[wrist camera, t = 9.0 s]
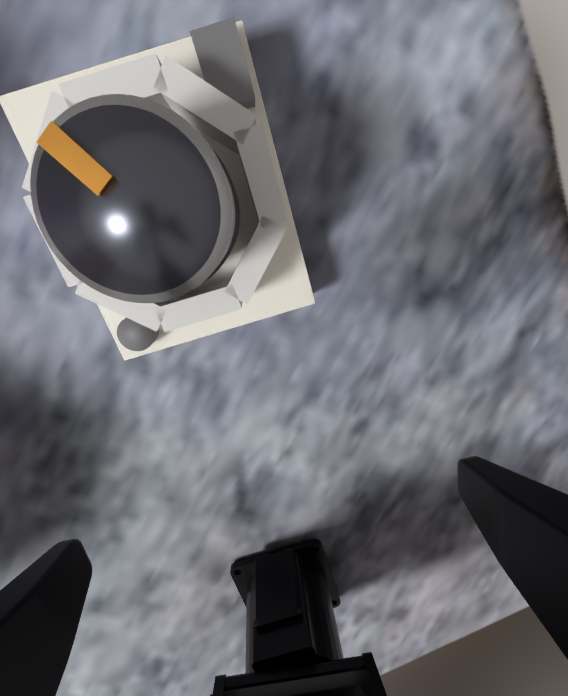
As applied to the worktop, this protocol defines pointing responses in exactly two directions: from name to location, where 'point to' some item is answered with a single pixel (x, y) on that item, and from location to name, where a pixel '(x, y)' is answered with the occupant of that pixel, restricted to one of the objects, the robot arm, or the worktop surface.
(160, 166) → the lens
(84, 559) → the robot arm
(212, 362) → the worktop surface
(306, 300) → the mount block
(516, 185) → the worktop surface
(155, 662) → the worktop surface
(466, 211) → the worktop surface
